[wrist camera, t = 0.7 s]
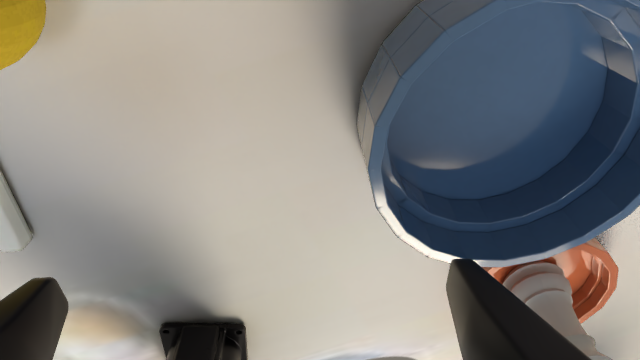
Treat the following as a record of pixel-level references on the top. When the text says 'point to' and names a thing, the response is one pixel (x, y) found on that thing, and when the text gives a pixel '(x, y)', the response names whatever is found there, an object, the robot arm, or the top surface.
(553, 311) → the rook chess piece
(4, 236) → the hard drive
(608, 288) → the orange round lid
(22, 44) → the lemon
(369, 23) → the top surface
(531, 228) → the bowl
